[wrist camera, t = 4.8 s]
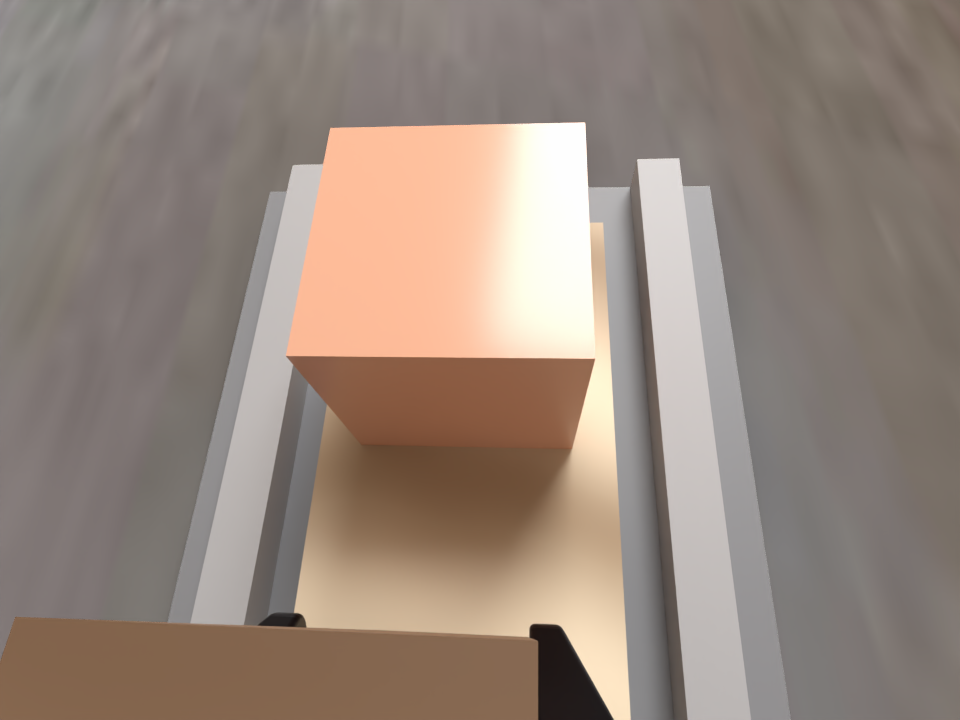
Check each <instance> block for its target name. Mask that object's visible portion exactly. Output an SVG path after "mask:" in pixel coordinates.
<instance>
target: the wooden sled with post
mask: <svg viewBox="0 0 960 720" xmlns="http://www.w3.org/2000/svg"><path fill="white" fill-rule="evenodd" d="M589 225H590V247H591V270H592V293H593V316H594V338H595V362H594V366H593V370H592V374H591V378H590V382H589V386H588V389H587V393H586V397H585V401H584V405H583V409H582V413H581V417H580V420H579V424H578V428H577V432H576V436H575V440H574V444H573V448H572V449H542V448H494V447H446V446H398V445H361V444H360V442H359V441H358V440H357V439H356V438H355V437H354V435H353V434H352V433H351V432H350V431H349V430H348V428H347V427H346V426H345V425H344V424H343V423H342V421H341V420H340V419H339V418H338V417H337V416H336V414H335V413H334V412H333V411H332V410H331V409H330V407H329V406H328V405H327V407H326V414H325V420H324V426H323V433H322V439H321V445H320V451H319V458H318V464H317V470H316V477H315V483H314V489H313V496H312V502H311V508H310V515H309V521H308V527H307V534H306V540H305V546H304V552H303V559H302V565H301V571H300V578H299V584H298V590H297V597H296V603H295V609H294V613H299V614H302V615H303V616H304V618H305V621H306V626H307V628H305V627H278V626H251V625H223V624H195V623H168V622H140V621H113V620H85V619H58V618H30V617H15V619H14V622H13V625H12V628H11V631H10V634H9V637H8V640H7V643H6V646H5V649H4V652H3V655H2V658H1V661H0V720H538V641H537V640H534V639H532V638H529V628H530V626H531V625H532V624H556V625H559V626H561V627H562V629H563V630H564V631H565V633H566V635H567V637H568V639H569V640H570V642H571V644H572V646H573V647H574V649H575V651H576V653H577V655H578V656H579V658H580V660H581V662H582V663H583V665H584V667H585V669H586V671H587V672H588V674H589V676H590V678H591V680H592V681H593V683H594V685H595V687H596V688H597V690H598V692H599V694H600V696H601V697H602V699H603V701H604V703H605V704H606V706H607V708H608V710H609V712H610V713H611V715H612V717H613V719H614V720H631V715H630V697H629V679H628V661H627V643H626V625H625V607H624V589H623V571H622V553H621V535H620V517H619V499H618V481H617V464H616V446H615V428H614V410H613V392H612V374H611V356H610V338H609V320H608V302H607V284H606V266H605V248H604V230H603V223H589Z"/></svg>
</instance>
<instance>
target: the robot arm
mask: <svg viewBox="0 0 960 720" xmlns="http://www.w3.org/2000/svg"><path fill="white" fill-rule="evenodd" d="M256 626H278V627H305V628H307V626H306V621H305V618H304V616H303V615H302V614H299V613H284V612H276V613H273V614H271V615H269V616H268V617H266V618H265V619H264V620H263V621H261V622H260V623H259V624H258V625H256ZM529 638H532V639H534V640H537V641H538V720H614V719H613V717H612V715H611V713H610V712H609V710H608V708H607V706H606V704H605V703H604V701H603V699H602V697H601V696H600V694H599V692H598V690H597V688H596V687H595V685H594V683H593V681H592V680H591V678H590V676H589V674H588V672H587V671H586V669H585V667H584V665H583V663H582V662H581V660H580V658H579V656H578V655H577V653H576V651H575V649H574V647H573V646H572V644H571V642H570V640H569V639H568V637H567V635H566V633H565V631H564V630H563V629H562V627H561V626H559V625H556V624H532V625H531V626H530V628H529Z"/></svg>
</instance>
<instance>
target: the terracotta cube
mask: <svg viewBox="0 0 960 720" xmlns="http://www.w3.org/2000/svg"><path fill="white" fill-rule="evenodd" d="M286 357H287V358H288V359H289V360H290V362H291V363H292V364H293V365H294V366H295V367H296V369H297V370H298V371H299V372H300V373H301V375H302V376H303V377H304V378H305V379H306V380H307V382H308V383H309V384H310V385H311V386H312V387H313V389H314V390H315V391H316V392H317V393H318V394H319V396H320V397H321V398H322V399H323V400H324V401H325V403H326V404H327V405H328V406H329V407H330V409H331V410H332V411H333V412H334V413H335V414H336V416H337V417H338V418H339V419H340V420H341V421H342V423H343V424H344V425H345V426H346V427H347V428H348V430H349V431H350V432H351V433H352V434H353V435H354V437H355V438H356V439H357V440H358V441H359V442H360V444H361V445H398V446H446V447H494V448H542V449H572V448H573V444H574V440H575V436H576V432H577V428H578V424H579V420H580V417H581V413H582V409H583V405H584V401H585V397H586V393H587V389H588V386H589V382H590V378H591V374H592V370H593V366H594V362H595V338H594V316H593V293H592V270H591V247H590V225H589V202H588V179H587V156H586V134H585V123H540V124H495V125H449V126H403V127H357V128H330V133H329V138H328V143H327V148H326V153H325V158H324V163H323V169H322V174H321V179H320V184H319V189H318V194H317V199H316V204H315V209H314V214H313V219H312V225H311V230H310V235H309V240H308V245H307V250H306V255H305V260H304V265H303V270H302V275H301V281H300V286H299V291H298V296H297V301H296V306H295V311H294V316H293V321H292V326H291V331H290V337H289V342H288V347H287V352H286Z"/></svg>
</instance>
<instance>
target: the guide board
mask: <svg viewBox="0 0 960 720" xmlns="http://www.w3.org/2000/svg"><path fill="white" fill-rule="evenodd" d="M322 169H323V165H293V167H292V172H291V176H290V180H289V185H288V189H287V192H270V195H269V199H268V203H267V208H266V212H265V216H264V220H263V224H262V228H261V233H260V237H259V241H258V245H257V249H256V254H255V258H254V262H253V266H252V270H251V274H250V279H249V283H248V287H247V291H246V295H245V300H244V304H243V308H242V312H241V316H240V321H239V325H238V329H237V333H236V337H235V341H234V346H233V350H232V354H231V358H230V362H229V367H228V371H227V375H226V379H225V383H224V388H223V392H222V396H221V400H220V404H219V408H218V413H217V417H216V421H215V425H214V429H213V434H212V438H211V442H210V446H209V450H208V454H207V459H206V463H205V467H204V471H203V475H202V480H201V484H200V488H199V492H198V496H197V501H196V505H195V509H194V513H193V517H192V521H191V526H190V530H189V534H188V538H187V542H186V547H185V551H184V555H183V559H182V563H181V568H180V572H179V576H178V580H177V584H176V588H175V593H174V597H173V601H172V605H171V609H170V614H169V618H168V623H195V624H223V625H251V626H256V625H258V624H259V623H260V622H261V621H263V620H264V619H265V618H266V617H268V616H269V615H271V614H273V613H276V612H284V613H294V609H295V603H296V597H297V590H298V584H299V578H300V571H301V565H302V559H303V552H304V546H305V540H306V534H307V527H308V521H309V515H310V508H311V502H312V496H313V489H314V483H315V477H316V470H317V464H318V458H319V451H320V445H321V439H322V433H323V426H324V420H325V414H326V407H327V404H326V403H325V401H324V400H323V399H322V398H321V397H320V396H319V394H318V393H317V392H316V391H315V390H314V389H313V387H312V386H311V385H310V384H309V383H308V382H307V380H306V379H305V378H304V377H303V376H302V375H301V373H300V372H299V371H298V370H297V369H296V367H295V366H294V365H293V364H292V363H291V362H290V360H289V359H288V358H287V357H286V352H287V347H288V342H289V337H290V331H291V326H292V321H293V316H294V311H295V306H296V301H297V296H298V291H299V286H300V281H301V275H302V270H303V265H304V260H305V255H306V250H307V245H308V240H309V235H310V230H311V225H312V219H313V214H314V209H315V204H316V199H317V194H318V189H319V184H320V179H321V174H322ZM588 202H589V223H603V230H604V248H605V266H606V284H607V302H608V320H609V338H610V356H611V374H612V392H613V410H614V428H615V446H616V464H617V481H618V499H619V517H620V535H621V553H622V571H623V589H624V607H625V625H626V643H627V661H628V679H629V697H630V715H631V720H791V716H790V710H789V703H788V697H787V690H786V684H785V677H784V670H783V664H782V657H781V651H780V644H779V638H778V631H777V625H776V618H775V612H774V605H773V598H772V592H771V585H770V579H769V572H768V566H767V559H766V553H765V546H764V540H763V533H762V526H761V520H760V513H759V507H758V500H757V494H756V487H755V481H754V474H753V468H752V461H751V454H750V448H749V441H748V435H747V428H746V422H745V415H744V409H743V402H742V396H741V389H740V382H739V376H738V369H737V363H736V356H735V350H734V343H733V337H732V330H731V324H730V317H729V310H728V304H727V297H726V291H725V284H724V278H723V271H722V265H721V258H720V252H719V245H718V238H717V232H716V225H715V219H714V212H713V206H712V199H711V193H710V186H682V179H681V171H680V163H679V159H637V162H636V166H635V170H634V174H633V179H632V183H631V187H600V188H588Z"/></svg>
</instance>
